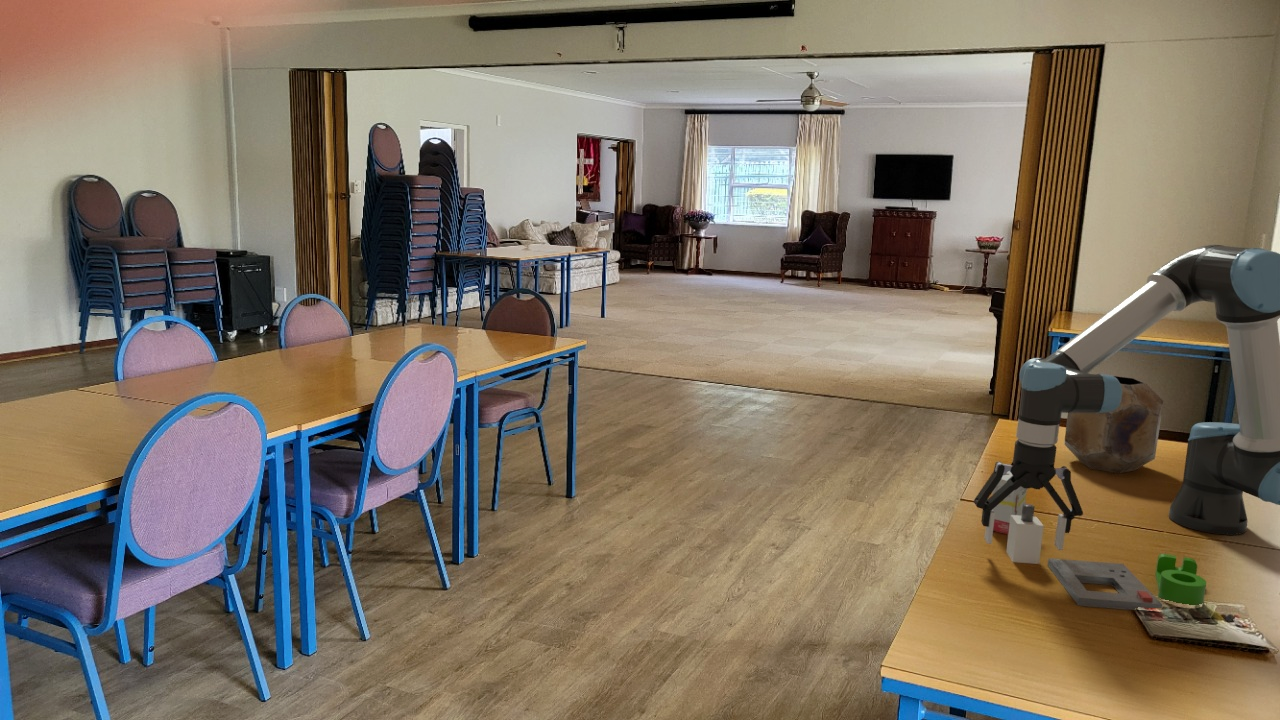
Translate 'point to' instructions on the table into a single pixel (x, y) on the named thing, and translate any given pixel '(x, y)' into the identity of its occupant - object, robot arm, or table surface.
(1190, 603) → the green ring bracket
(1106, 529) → the table surface
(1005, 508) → the ink box
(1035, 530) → the plug
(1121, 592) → the socket plate
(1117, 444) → the planter
